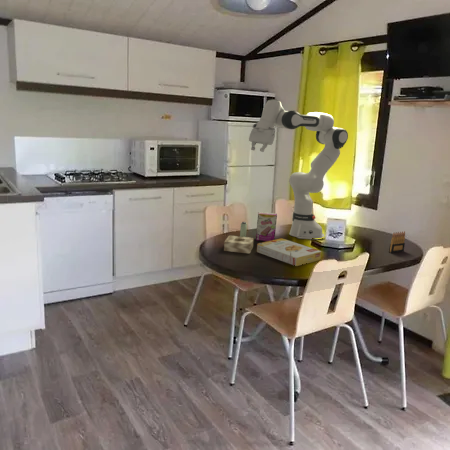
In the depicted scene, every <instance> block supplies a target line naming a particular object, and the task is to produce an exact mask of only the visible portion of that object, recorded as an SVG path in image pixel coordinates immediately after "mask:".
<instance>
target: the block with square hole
mask: <svg viewBox="0 0 450 450" xmlns="http://www.w3.org/2000/svg"><path fill="white" fill-rule="evenodd" d="M254 240H255V238H254V237H249V236H246V237H240V235H239V236H237V235H228V236H227V238H225V240H224V242H223V243H224V244H223V251H224V252H232V253H233V252H234V253H239V254H240V253H242V254H251V252H252V250H253V249H254V244H255V241H254Z"/></svg>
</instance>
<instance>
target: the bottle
mask: <svg viewBox="0 0 450 450" xmlns="http://www.w3.org/2000/svg"><path fill="white" fill-rule="evenodd" d="M247 228H248V223H247V222H246V221H242V222H241V223H240V229H239V230H240V232H239V236H240V237H247V230H248V229H247Z"/></svg>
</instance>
